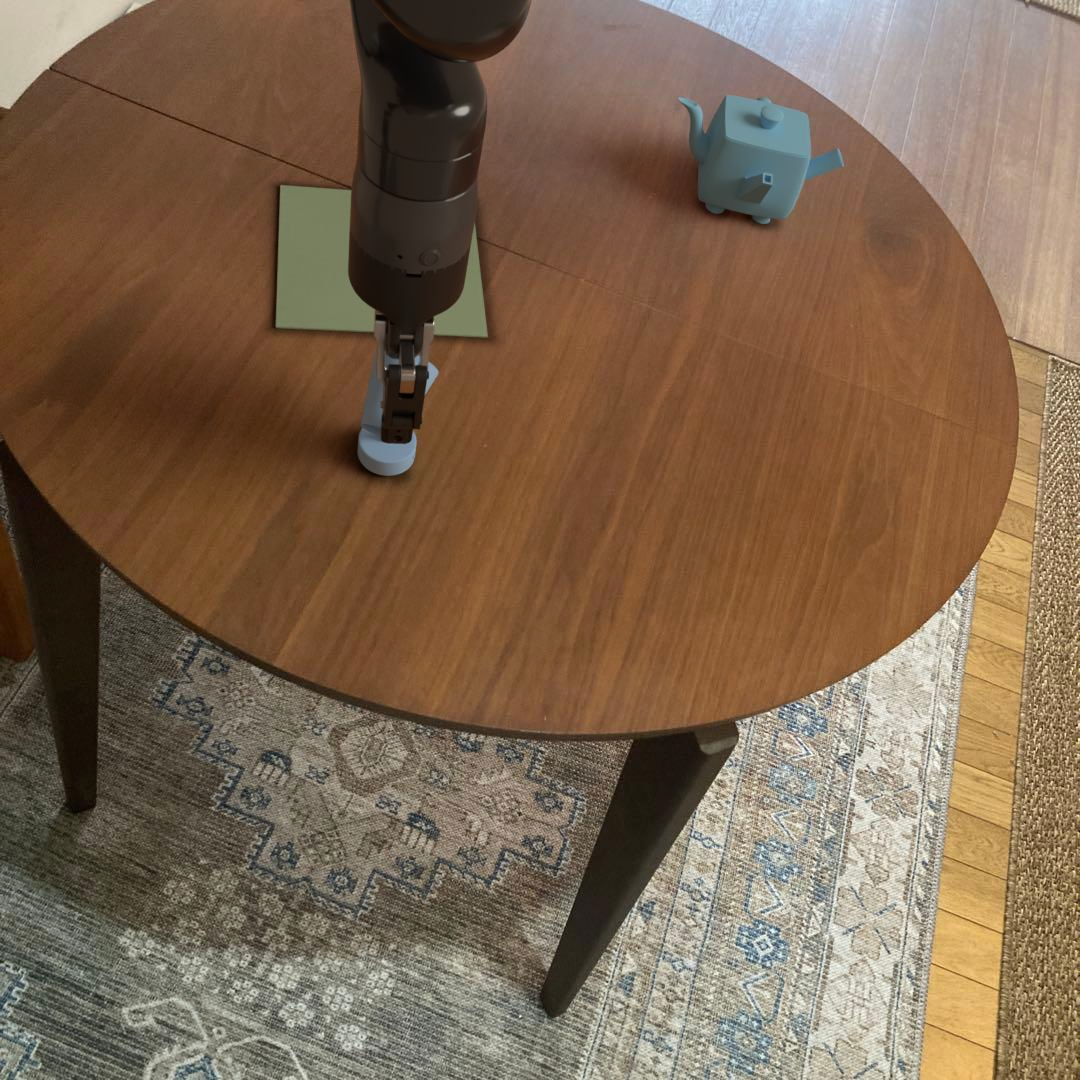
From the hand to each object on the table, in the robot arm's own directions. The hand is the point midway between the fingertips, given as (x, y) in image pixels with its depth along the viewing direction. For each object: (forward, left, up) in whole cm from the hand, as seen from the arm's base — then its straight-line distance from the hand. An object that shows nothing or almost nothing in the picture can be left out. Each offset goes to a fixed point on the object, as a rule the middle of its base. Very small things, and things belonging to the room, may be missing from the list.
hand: (394, 399), depth 77 cm
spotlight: (0, 0, -6) cm, 6 cm away
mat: (0, +22, -6) cm, 23 cm away
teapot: (+37, +34, -6) cm, 50 cm away
